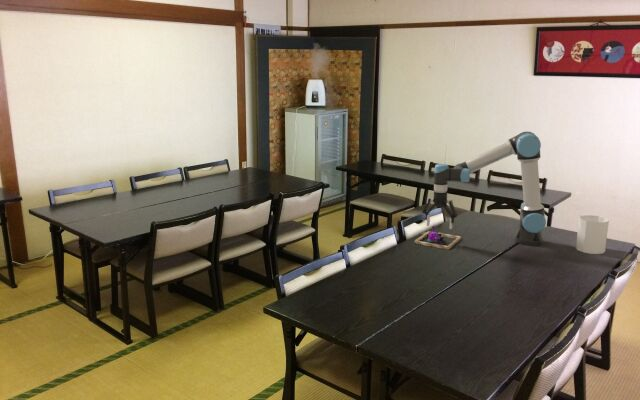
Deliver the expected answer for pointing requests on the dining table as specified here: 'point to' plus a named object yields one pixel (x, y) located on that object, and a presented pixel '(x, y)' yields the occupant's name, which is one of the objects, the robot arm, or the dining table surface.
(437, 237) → the toy
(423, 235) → the pocket frame
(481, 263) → the dining table surface
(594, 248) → the container
